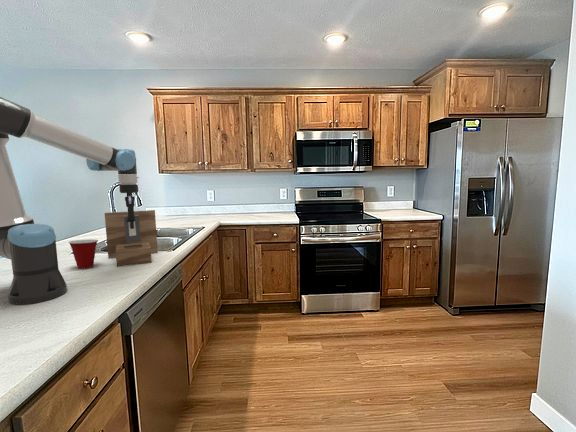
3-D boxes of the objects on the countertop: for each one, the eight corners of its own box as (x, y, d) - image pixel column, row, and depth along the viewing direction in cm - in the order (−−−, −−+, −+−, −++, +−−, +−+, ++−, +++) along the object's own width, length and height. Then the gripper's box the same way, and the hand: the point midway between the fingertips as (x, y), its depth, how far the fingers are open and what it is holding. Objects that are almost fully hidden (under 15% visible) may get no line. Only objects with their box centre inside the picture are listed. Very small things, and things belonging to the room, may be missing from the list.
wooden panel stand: (161, 261, 143) (158, 214, 140) (106, 268, 133) (101, 217, 130) (157, 251, 161) (154, 210, 158) (108, 257, 151) (104, 212, 148)
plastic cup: (106, 263, 140) (103, 237, 138) (88, 270, 129) (85, 242, 128) (84, 262, 141) (81, 237, 140) (64, 270, 130) (61, 242, 129)
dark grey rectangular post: (140, 241, 143) (138, 215, 141) (126, 242, 140) (123, 216, 139) (140, 239, 146) (138, 214, 144) (126, 241, 143) (123, 215, 141)
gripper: (138, 184, 134) (142, 237, 137) (137, 183, 148) (140, 231, 151) (118, 184, 130) (123, 238, 134) (119, 183, 145) (123, 232, 148)
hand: (132, 234), depth 142 cm, fingers closed on dark grey rectangular post, 3 cm apart
